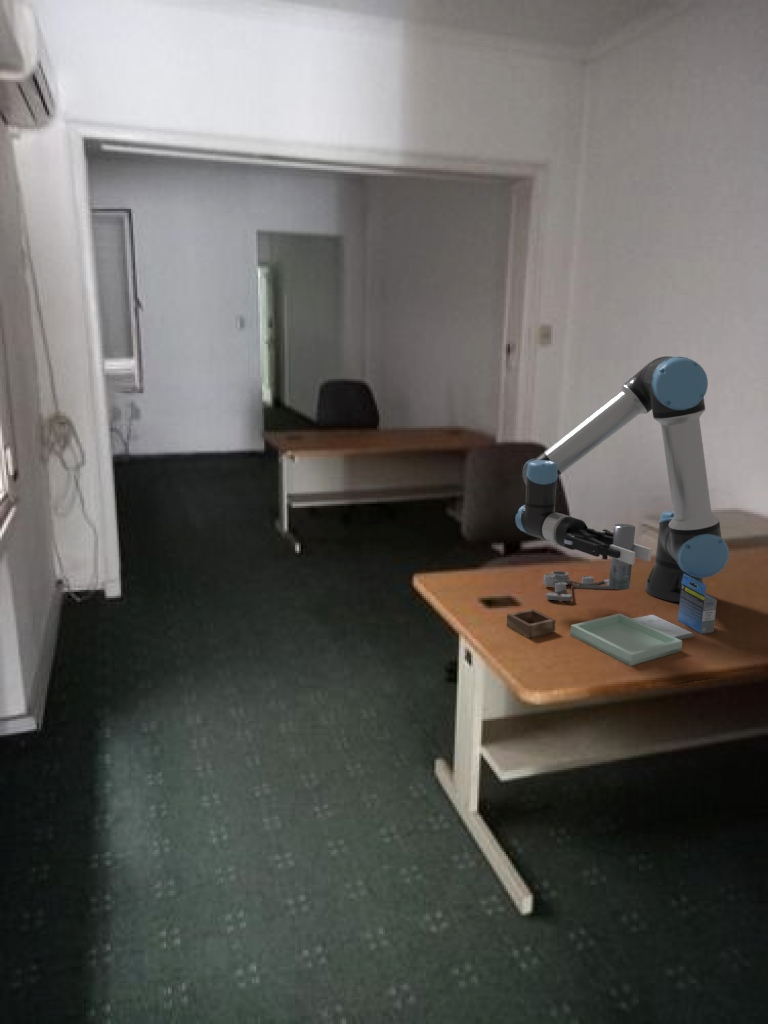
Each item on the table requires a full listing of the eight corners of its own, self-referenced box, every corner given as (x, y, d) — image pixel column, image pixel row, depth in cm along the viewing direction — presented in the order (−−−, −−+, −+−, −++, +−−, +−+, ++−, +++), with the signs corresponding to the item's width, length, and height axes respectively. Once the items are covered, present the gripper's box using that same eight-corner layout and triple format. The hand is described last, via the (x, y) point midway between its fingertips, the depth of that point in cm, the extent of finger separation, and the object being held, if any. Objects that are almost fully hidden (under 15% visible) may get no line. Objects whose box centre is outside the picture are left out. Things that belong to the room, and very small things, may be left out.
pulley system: (517, 593, 193) (560, 606, 181) (518, 576, 192) (561, 589, 180) (581, 579, 209) (625, 590, 197) (582, 563, 208) (626, 574, 196)
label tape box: (714, 633, 166) (721, 584, 163) (699, 634, 165) (706, 585, 162) (690, 619, 174) (696, 572, 171) (675, 620, 173) (681, 573, 170)
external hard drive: (666, 644, 160) (627, 624, 171) (692, 638, 164) (653, 619, 175) (667, 638, 160) (628, 618, 171) (693, 632, 163) (653, 613, 174)
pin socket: (532, 620, 172) (533, 608, 171) (554, 631, 165) (555, 620, 164) (506, 626, 168) (507, 614, 167) (528, 638, 161) (529, 626, 160)
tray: (618, 622, 171) (619, 613, 170) (681, 651, 156) (682, 640, 155) (570, 635, 163) (570, 625, 163) (630, 666, 148) (631, 655, 147)
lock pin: (618, 582, 160) (624, 522, 156) (633, 587, 156) (639, 527, 153) (604, 585, 158) (609, 525, 154) (619, 591, 154) (625, 529, 151)
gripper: (590, 541, 175) (667, 567, 155) (537, 550, 167) (611, 579, 147) (593, 512, 173) (671, 534, 153) (539, 520, 165) (614, 545, 145)
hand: (641, 556), depth 150 cm, fingers closed on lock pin, 4 cm apart
